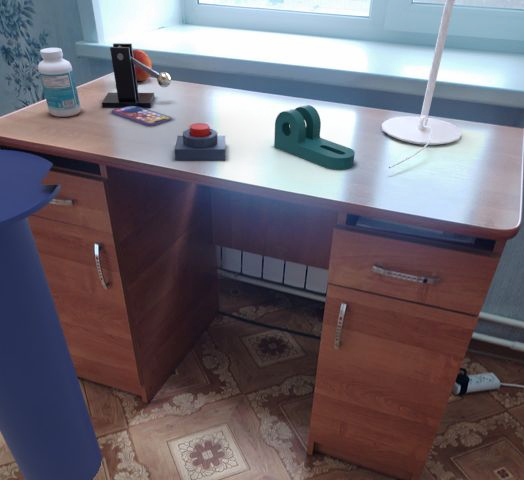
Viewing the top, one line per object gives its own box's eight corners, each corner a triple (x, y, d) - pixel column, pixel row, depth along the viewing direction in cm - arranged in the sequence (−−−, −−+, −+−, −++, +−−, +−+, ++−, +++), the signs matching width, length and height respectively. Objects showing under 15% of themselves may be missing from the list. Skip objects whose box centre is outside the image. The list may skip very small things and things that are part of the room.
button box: (175, 160, 102) (173, 140, 99) (178, 146, 108) (176, 126, 105) (225, 160, 102) (224, 140, 99) (225, 146, 108) (224, 126, 105)
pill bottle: (61, 107, 126) (47, 45, 117) (87, 110, 124) (74, 47, 115) (43, 115, 121) (26, 51, 112) (69, 119, 119) (55, 54, 110)
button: (189, 138, 101) (189, 129, 100) (190, 131, 104) (190, 122, 103) (209, 138, 101) (209, 129, 100) (210, 131, 104) (209, 122, 103)
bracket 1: (154, 97, 134) (148, 42, 125) (150, 108, 127) (143, 50, 118) (108, 97, 133) (99, 41, 124) (102, 107, 126) (91, 49, 118)
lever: (167, 88, 130) (173, 75, 128) (166, 91, 127) (172, 79, 125) (115, 55, 124) (120, 42, 122) (113, 59, 122) (118, 45, 120)
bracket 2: (274, 147, 108) (275, 107, 103) (295, 139, 112) (298, 101, 106) (338, 172, 99) (343, 130, 93) (360, 163, 102) (366, 123, 97)
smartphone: (134, 108, 128) (174, 121, 121) (110, 114, 124) (150, 128, 116) (133, 104, 127) (173, 117, 120) (109, 110, 123) (149, 124, 116)
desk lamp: (381, 116, 125) (423, -134, 95) (456, 122, 123) (523, -133, 93) (378, 175, 98) (435, -151, 68) (474, 184, 95) (577, -149, 66)
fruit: (120, 81, 145) (115, 49, 140) (141, 76, 150) (137, 45, 144) (138, 86, 141) (134, 54, 136) (159, 80, 146) (156, 49, 141)
